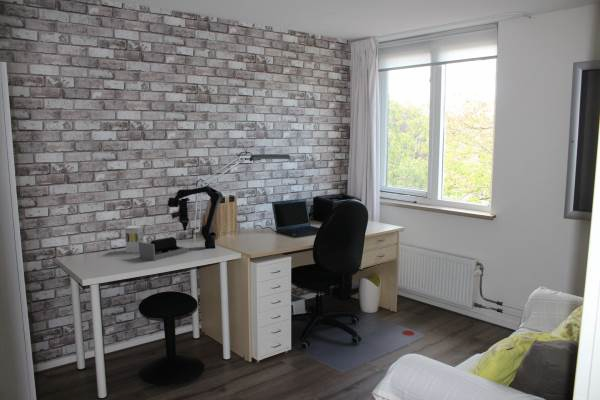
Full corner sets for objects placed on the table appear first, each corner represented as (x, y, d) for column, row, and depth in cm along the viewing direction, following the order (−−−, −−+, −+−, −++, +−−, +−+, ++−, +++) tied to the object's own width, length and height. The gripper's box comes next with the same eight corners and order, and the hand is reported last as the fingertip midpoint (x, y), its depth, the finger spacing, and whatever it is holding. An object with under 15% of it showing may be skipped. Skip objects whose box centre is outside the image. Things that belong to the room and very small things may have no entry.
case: (172, 249, 335) (172, 235, 333) (187, 252, 326) (186, 237, 325) (139, 257, 313) (138, 242, 312) (153, 260, 305) (152, 244, 304)
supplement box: (125, 252, 327) (124, 227, 325) (130, 249, 337) (128, 225, 334) (140, 252, 327) (138, 227, 325) (144, 249, 336) (143, 225, 334)
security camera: (181, 252, 325) (180, 237, 324) (155, 257, 312) (154, 241, 311) (175, 250, 330) (174, 235, 328) (150, 255, 317) (149, 240, 315)
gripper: (171, 206, 347) (172, 228, 349) (171, 209, 329) (172, 232, 331) (187, 205, 350) (188, 227, 352) (188, 208, 332) (189, 231, 334)
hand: (184, 229), depth 342 cm, fingers open, 9 cm apart
